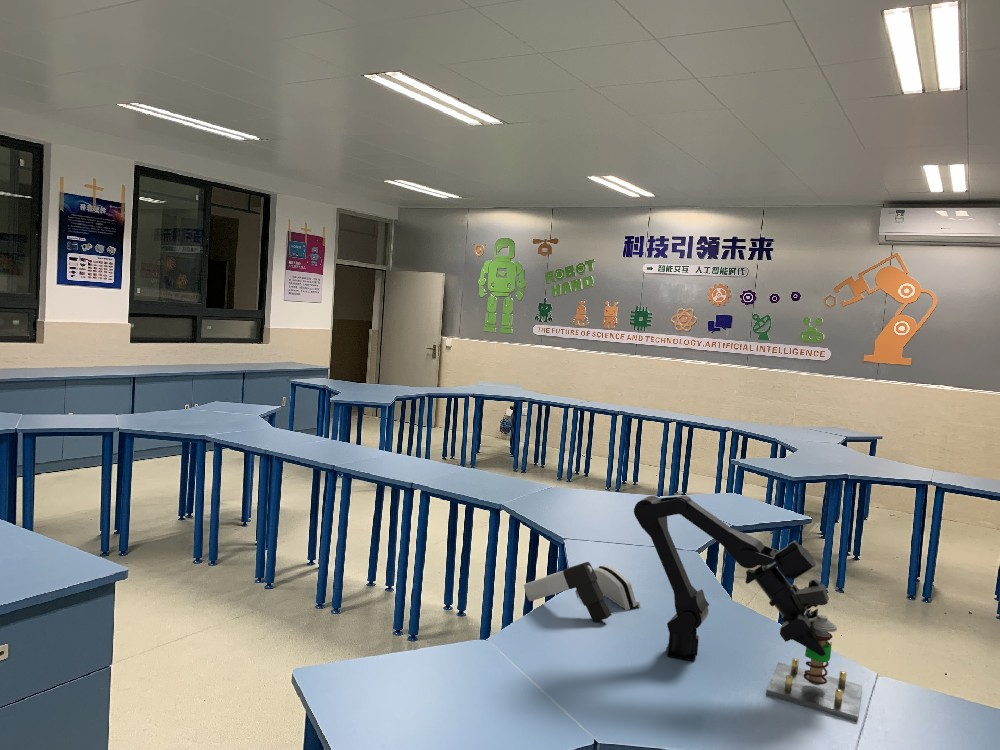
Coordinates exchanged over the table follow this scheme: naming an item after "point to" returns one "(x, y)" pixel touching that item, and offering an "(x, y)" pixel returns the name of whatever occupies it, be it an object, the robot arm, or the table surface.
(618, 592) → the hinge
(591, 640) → the table surface
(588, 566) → the handheld device
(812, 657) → the shock absorber
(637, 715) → the table surface
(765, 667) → the table surface
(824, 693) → the plate
